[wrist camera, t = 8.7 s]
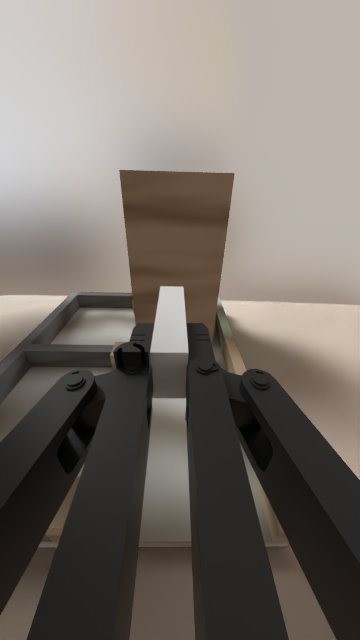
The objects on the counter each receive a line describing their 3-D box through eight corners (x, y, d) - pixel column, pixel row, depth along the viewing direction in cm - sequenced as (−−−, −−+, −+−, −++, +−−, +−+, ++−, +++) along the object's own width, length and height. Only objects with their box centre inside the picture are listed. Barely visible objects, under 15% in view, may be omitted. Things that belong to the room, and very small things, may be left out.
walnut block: (211, 350, 23) (234, 173, 15) (138, 349, 23) (119, 170, 15) (204, 313, 30) (217, 178, 22) (147, 312, 30) (138, 175, 21)
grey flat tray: (286, 546, 11) (305, 527, 10) (-120, 548, 11) (-169, 528, 9) (215, 312, 32) (217, 294, 31) (77, 310, 32) (72, 291, 31)
